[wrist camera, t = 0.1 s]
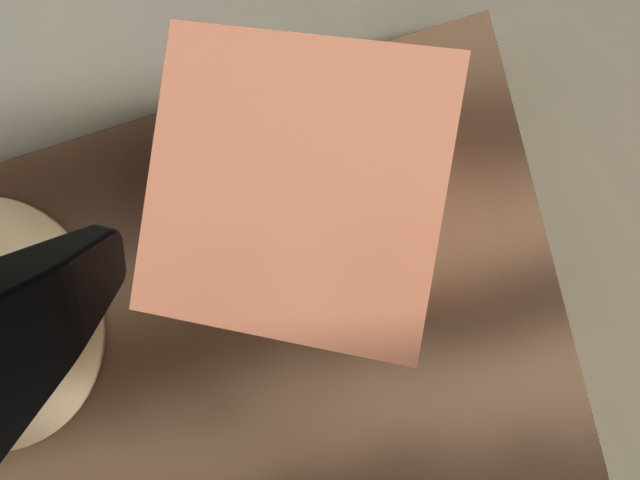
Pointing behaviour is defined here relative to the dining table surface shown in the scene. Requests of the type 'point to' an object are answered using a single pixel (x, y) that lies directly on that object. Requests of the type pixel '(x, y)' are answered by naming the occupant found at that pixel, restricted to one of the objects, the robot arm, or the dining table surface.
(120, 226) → the walnut board
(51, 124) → the dining table surface
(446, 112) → the peach colored cube
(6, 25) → the dining table surface
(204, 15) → the dining table surface
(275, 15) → the dining table surface
